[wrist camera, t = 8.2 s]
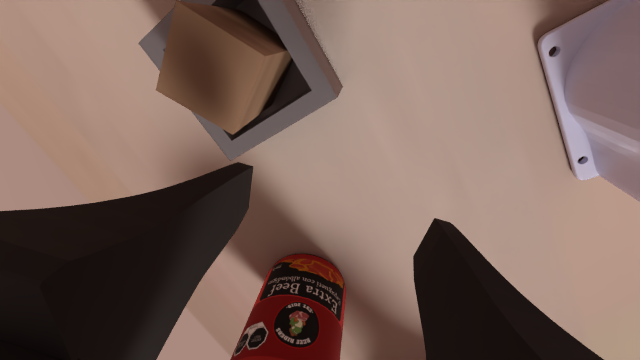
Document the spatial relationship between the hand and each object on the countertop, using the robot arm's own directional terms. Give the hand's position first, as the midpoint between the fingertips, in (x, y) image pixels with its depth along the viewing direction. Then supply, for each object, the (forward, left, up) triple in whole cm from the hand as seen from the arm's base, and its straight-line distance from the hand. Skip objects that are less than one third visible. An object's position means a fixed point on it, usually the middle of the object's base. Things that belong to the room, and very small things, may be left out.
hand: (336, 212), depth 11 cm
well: (+7, +3, -9) cm, 12 cm away
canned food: (-11, +11, -10) cm, 18 cm away
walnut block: (+7, +3, -9) cm, 12 cm away
